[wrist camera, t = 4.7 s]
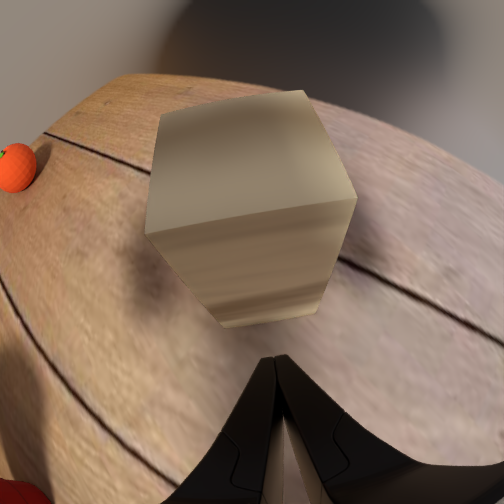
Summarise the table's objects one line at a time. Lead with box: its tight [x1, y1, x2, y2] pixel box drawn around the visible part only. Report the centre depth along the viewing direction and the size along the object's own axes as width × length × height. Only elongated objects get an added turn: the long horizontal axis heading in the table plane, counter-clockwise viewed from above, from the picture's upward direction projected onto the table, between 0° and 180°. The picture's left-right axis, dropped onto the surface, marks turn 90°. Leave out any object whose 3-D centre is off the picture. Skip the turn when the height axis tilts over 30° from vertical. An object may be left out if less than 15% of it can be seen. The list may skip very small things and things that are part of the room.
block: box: [145, 90, 358, 329], centre depth 14 cm, size 6×6×12 cm
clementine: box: [0, 143, 36, 193], centre depth 26 cm, size 8×7×7 cm
